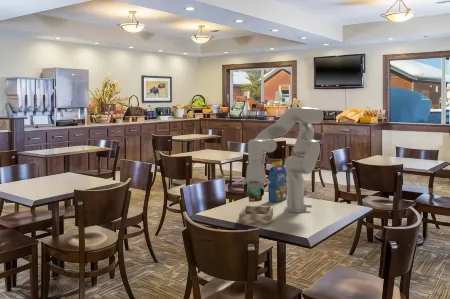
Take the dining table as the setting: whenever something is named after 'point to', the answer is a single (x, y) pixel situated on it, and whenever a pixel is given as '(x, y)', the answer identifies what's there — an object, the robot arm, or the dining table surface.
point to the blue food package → (277, 182)
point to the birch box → (256, 215)
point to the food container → (254, 192)
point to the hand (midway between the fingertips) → (256, 195)
